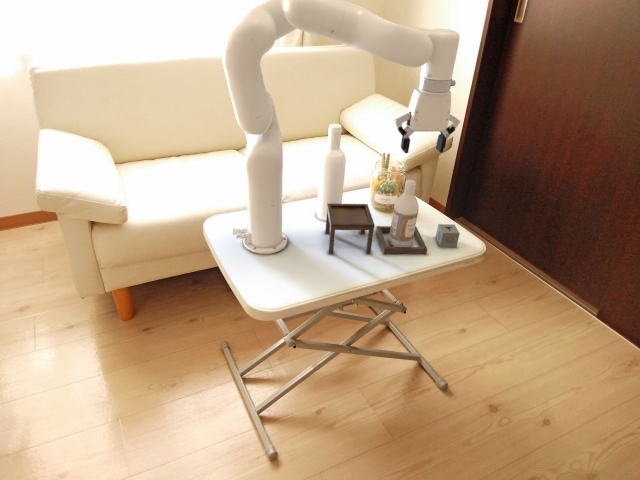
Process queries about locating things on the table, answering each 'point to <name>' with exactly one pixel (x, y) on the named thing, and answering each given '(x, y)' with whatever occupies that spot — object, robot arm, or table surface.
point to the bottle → (331, 172)
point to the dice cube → (447, 235)
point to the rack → (365, 228)
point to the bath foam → (404, 217)
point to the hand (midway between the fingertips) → (422, 151)
